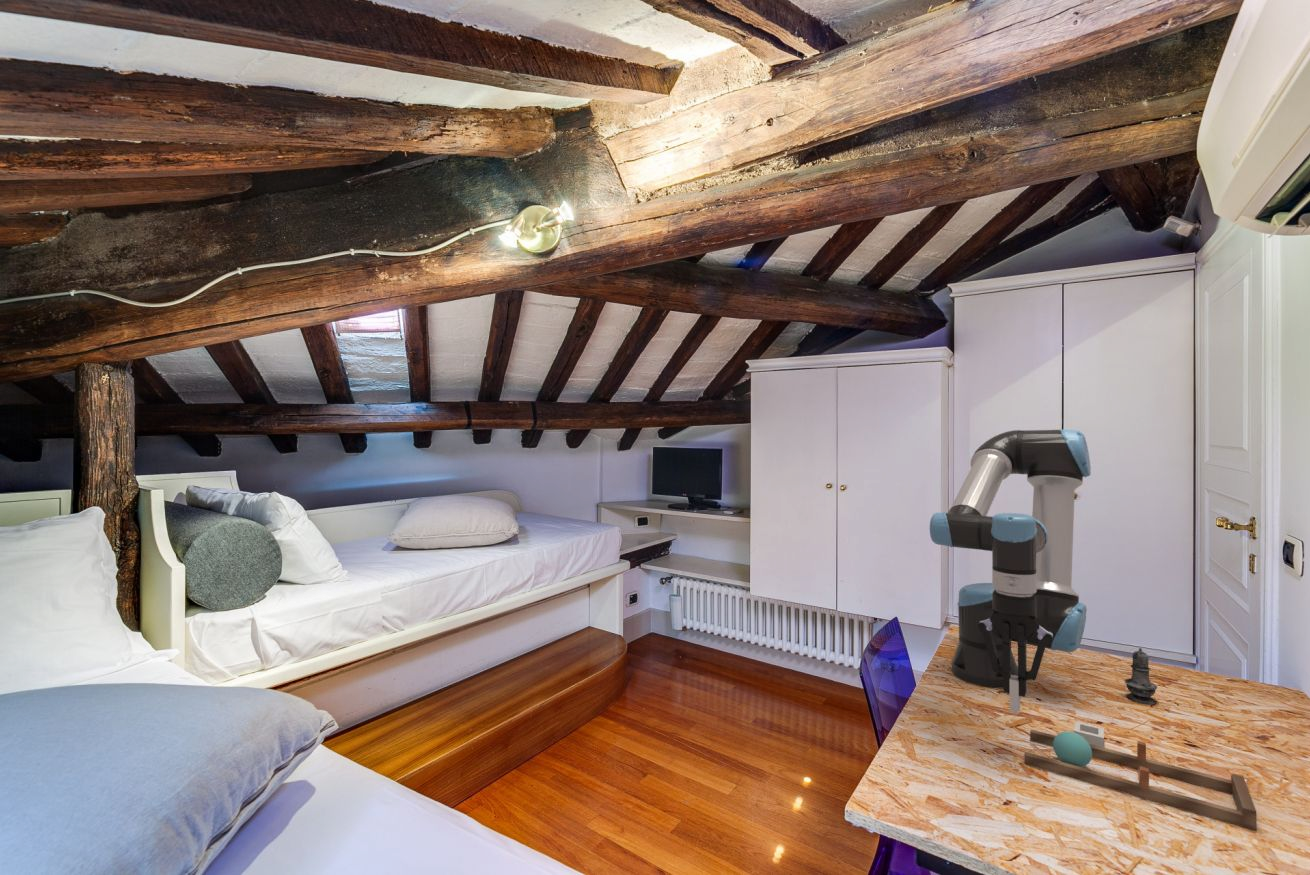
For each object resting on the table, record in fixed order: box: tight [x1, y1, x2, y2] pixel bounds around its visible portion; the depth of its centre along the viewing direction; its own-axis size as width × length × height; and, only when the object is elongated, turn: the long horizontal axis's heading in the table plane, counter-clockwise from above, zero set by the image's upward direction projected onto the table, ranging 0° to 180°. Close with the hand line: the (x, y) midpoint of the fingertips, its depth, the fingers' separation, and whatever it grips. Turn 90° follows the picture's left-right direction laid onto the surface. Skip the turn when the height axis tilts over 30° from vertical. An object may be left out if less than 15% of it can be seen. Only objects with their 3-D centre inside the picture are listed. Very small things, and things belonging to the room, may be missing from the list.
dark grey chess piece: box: [1124, 647, 1158, 705], centre depth 135 cm, size 6×6×12 cm
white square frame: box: [1073, 720, 1105, 748], centre depth 119 cm, size 5×5×2 cm
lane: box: [1023, 729, 1258, 831], centre depth 106 cm, size 31×11×5 cm, turn 52°
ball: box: [1052, 730, 1093, 768], centre depth 110 cm, size 6×6×6 cm
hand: (1015, 710), depth 116 cm, fingers closed
